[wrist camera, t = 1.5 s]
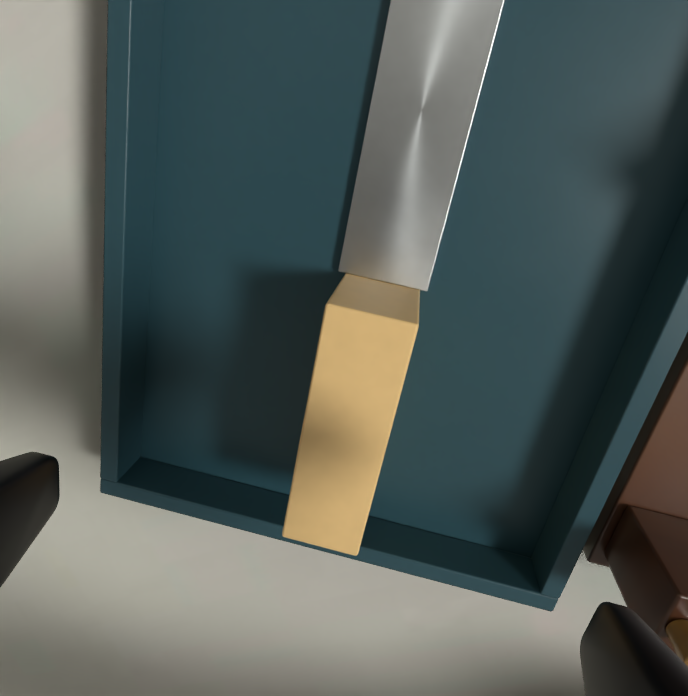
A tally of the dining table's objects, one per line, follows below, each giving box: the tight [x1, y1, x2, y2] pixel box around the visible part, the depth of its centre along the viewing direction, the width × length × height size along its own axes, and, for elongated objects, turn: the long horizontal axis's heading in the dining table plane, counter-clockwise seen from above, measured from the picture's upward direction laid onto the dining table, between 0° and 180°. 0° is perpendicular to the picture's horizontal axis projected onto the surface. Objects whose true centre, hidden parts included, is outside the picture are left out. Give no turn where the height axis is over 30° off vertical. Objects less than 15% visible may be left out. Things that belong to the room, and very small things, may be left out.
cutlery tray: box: [100, 0, 688, 611], centre depth 14 cm, size 20×15×2 cm
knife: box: [282, 0, 505, 556], centre depth 13 cm, size 16×3×3 cm, turn 169°
